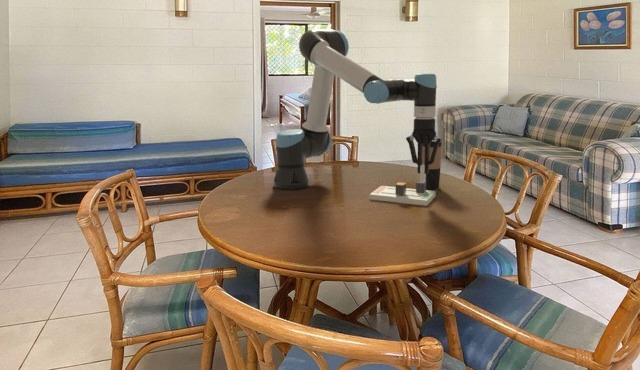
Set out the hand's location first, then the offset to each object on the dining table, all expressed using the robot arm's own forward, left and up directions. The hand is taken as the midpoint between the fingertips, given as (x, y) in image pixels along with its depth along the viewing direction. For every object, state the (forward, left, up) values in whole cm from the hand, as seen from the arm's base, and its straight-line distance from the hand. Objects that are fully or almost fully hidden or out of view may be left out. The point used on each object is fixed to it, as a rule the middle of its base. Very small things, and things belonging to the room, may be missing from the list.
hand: (422, 182), depth 179 cm
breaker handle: (-8, 0, -5) cm, 10 cm away
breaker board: (-8, +3, -8) cm, 12 cm away
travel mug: (-2, +22, -8) cm, 24 cm away
